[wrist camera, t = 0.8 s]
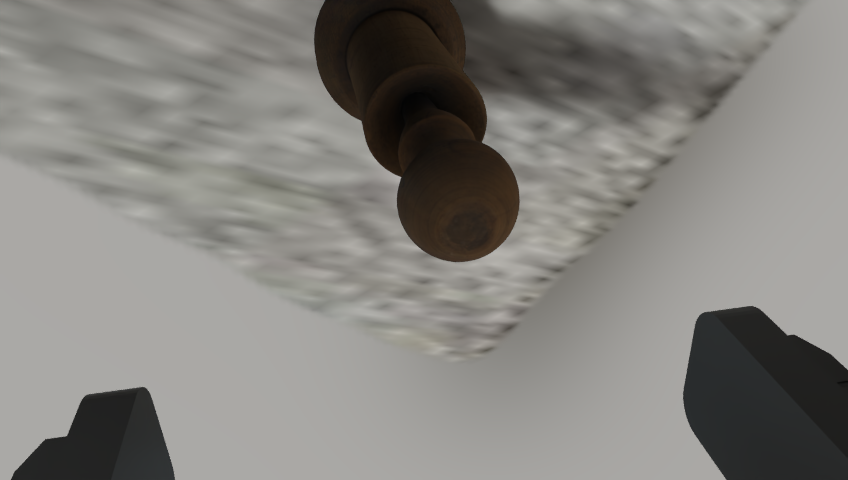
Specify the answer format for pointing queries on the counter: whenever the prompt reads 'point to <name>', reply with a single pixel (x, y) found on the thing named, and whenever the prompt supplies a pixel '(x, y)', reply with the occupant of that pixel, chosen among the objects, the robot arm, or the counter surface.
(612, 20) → the counter surface
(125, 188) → the counter surface
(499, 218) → the brown wooden chess pawn
